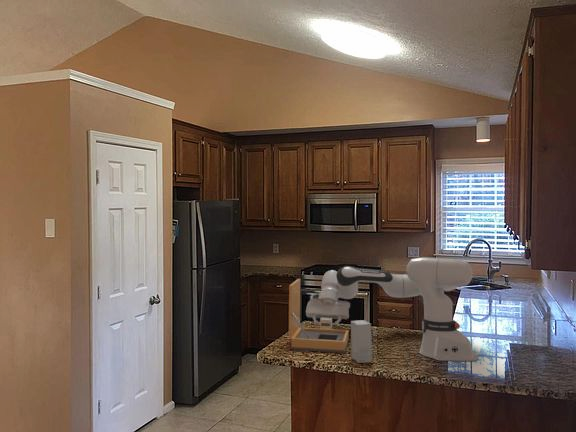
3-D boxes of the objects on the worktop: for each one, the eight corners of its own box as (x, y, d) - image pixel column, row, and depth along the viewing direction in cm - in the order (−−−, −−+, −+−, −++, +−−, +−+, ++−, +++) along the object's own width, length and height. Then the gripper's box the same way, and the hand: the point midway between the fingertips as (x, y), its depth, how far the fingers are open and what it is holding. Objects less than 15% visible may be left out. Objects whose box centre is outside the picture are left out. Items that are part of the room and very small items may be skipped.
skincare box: (372, 362, 197) (372, 324, 197) (357, 363, 196) (357, 324, 196) (364, 356, 205) (364, 319, 205) (349, 357, 204) (350, 319, 204)
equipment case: (348, 340, 230) (349, 280, 229) (344, 352, 210) (345, 287, 209) (297, 337, 234) (297, 278, 233) (288, 349, 214) (289, 285, 214)
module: (332, 333, 241) (332, 317, 241) (330, 336, 236) (331, 319, 236) (321, 332, 242) (321, 317, 242) (319, 335, 237) (320, 319, 237)
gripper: (350, 305, 248) (348, 330, 239) (308, 303, 252) (305, 327, 243) (350, 297, 244) (348, 322, 235) (307, 295, 248) (303, 320, 239)
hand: (326, 325), depth 239 cm, fingers open, 8 cm apart
